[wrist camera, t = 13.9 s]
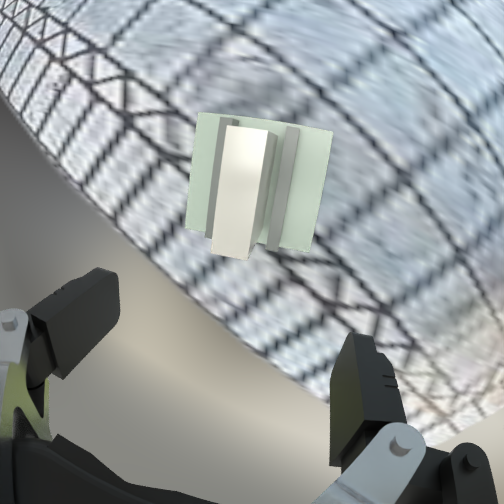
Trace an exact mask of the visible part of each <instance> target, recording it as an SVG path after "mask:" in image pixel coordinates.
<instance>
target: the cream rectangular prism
mask: <svg viewBox="0 0 504 504" xmlns="http://www.w3.org/2000/svg"><path fill="white" fill-rule="evenodd" d="M277 139H278V135H276V134H274V133H272V132H270V131H267V130H260V129H253V128H246V127H238V126H230V125H227V128H226V135H225V142H224V149H223V156H222V163H221V170H220V178H219V186H218V193H217V201H216V209H215V218H214V226H213V235H212V244H211V253H212V254H217V255H222V256H227V257H232V258H237V259H241V260H246V261H247V260H248V258H249V256H250V254H251V252H252V250H253V248H254V246H255V244H256V242H257V240H258V238H259V236H260V234H261V232H262V229H263V223H264V217H265V211H266V205H267V199H268V193H269V187H270V181H271V175H272V169H273V163H274V157H275V151H276V145H277Z"/></svg>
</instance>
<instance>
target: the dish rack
mask: <svg viewBox="0 0 504 504" xmlns="http://www.w3.org/2000/svg"><path fill="white" fill-rule="evenodd" d="M227 125H230V126H238V127H246V128H253V129H260V130H267V131H270V132H272V133H274V134H276V135H278V139H277V145H276V151H275V157H274V163H273V169H272V175H271V181H270V187H269V193H268V199H267V205H266V211H265V217H264V223H263V229H262V232H261V234H260V236H259V238H258V240H257V243H262V244H266V249H265V250H270V251H275V252H278V248H279V247H282V248H287V249H292V250H297V251H302V252H307V253H309V251H310V247H311V243H312V238H313V234H314V229H315V225H316V220H317V215H318V211H319V206H320V201H321V196H322V191H323V186H324V181H325V176H326V171H327V165H328V160H329V155H330V149H331V143H332V138H333V132H332V131H327V130H322V129H317V128H312V127H307V126H302V125H297V124H291V123H285V122H279V121H273V120H266V119H259V118H251V117H243V116H235V115H225V114H215V113H203V112H198V118H197V125H196V133H195V140H194V148H193V155H192V164H191V172H190V181H189V191H188V201H187V211H186V223H185V228H186V229H191V230H196V231H201V232H205V238H210V239H212V235H213V226H214V218H215V209H216V201H217V193H218V186H219V178H220V170H221V163H222V156H223V149H224V142H225V135H226V128H227Z"/></svg>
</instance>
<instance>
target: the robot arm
mask: <svg viewBox="0 0 504 504" xmlns="http://www.w3.org/2000/svg"><path fill="white" fill-rule="evenodd" d="M119 316H120V300H119V282H118V276H117V274H116V273H114V272H111V271H108V270H105V269H102V268H98V267H97V268H95V269H93V270H92V271H90V272H89V273H87V274H86V275H84V276H83V277H80V278H77V279H74V280H71V281H70V282H68V283H67V284H65V285H64V286H62V287H61V289H58V290H56V291H55V292H54V293H53V294H51V295H49V296H48V297H46V298H45V299H43V300H42V301H41V302H39V303H38V304H37V305H35V306H34V307H32V308H31V309H30V310H28V311H27V312H24V311H23V310H20V309H7V310H4V311H1V312H0V504H218V503H214V502H210V501H207V500H203V499H200V498H196V497H193V496H190V495H187V494H184V493H181V492H177V491H171V490H163V489H157V488H151V487H146V486H140V485H135V484H131V483H128V482H126V481H124V480H123V479H121V478H120V477H119V476H117V475H116V474H115V473H114V472H112V471H111V470H110V469H109V468H107V467H106V466H105V465H104V464H103V463H102V462H100V461H99V460H98V459H97V458H96V457H95V456H94V455H92V454H91V453H89V452H88V451H86V450H84V449H82V448H81V447H79V446H77V445H75V444H74V443H72V442H70V441H69V440H67V439H66V438H64V437H62V436H60V435H59V434H57V436H56V437H55V438H54V439H53V438H52V435H51V432H50V427H49V380H48V376H49V375H50V374H51V373H52V374H54V375H56V376H57V377H59V378H61V379H62V380H63V379H65V377H66V376H67V375H68V374H69V373H70V372H71V371H72V370H73V369H74V368H75V367H76V366H77V365H78V363H80V361H81V360H82V359H83V358H84V357H85V356H86V355H87V354H88V353H89V352H90V351H91V350H92V349H93V348H94V347H95V346H96V345H97V344H98V342H100V341H101V340H102V338H104V336H105V335H106V334H107V333H108V332H109V331H110V330H111V329H112V328H113V327H114V326H115V325H116V323H117V322H118V319H119ZM329 466H334V467H341V476H340V477H339V478H338V479H337V480H336V481H335V482H334V483H333V484H332V485H330V486H329V487H328V488H327V489H326V491H324V492H323V493H322V494H321V495H320V496H319V497H318V498H317V499H316V500H315V501H314V502H312V503H311V504H498V500H497V495H496V490H495V485H494V481H493V477H492V472H491V469H490V465H489V461H488V458H487V456H486V454H485V452H484V451H483V450H482V449H481V448H480V447H479V446H477V445H475V444H473V443H461V444H459V445H458V446H456V447H455V448H454V449H453V450H452V451H451V452H450V453H449V452H445V451H441V450H437V449H434V448H430V447H428V446H426V444H425V441H424V438H423V436H422V435H421V434H420V432H419V431H417V430H416V429H415V428H414V427H412V426H410V425H408V424H407V421H406V416H405V412H404V408H403V404H402V400H401V396H400V392H399V389H398V384H397V380H396V379H395V373H394V370H393V366H392V364H391V363H390V361H389V360H388V359H387V357H386V356H385V355H384V353H377V351H376V347H375V343H374V339H373V337H372V336H369V335H363V334H358V333H353V332H350V333H349V334H348V335H347V337H346V340H345V342H344V344H343V347H342V349H341V351H340V354H339V356H338V358H337V361H336V363H335V365H334V368H333V370H332V374H331V378H330V462H329Z"/></svg>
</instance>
